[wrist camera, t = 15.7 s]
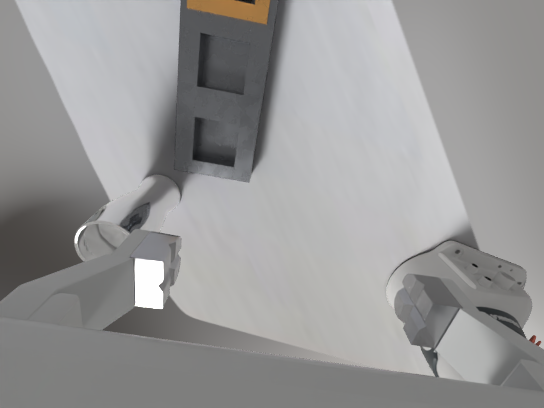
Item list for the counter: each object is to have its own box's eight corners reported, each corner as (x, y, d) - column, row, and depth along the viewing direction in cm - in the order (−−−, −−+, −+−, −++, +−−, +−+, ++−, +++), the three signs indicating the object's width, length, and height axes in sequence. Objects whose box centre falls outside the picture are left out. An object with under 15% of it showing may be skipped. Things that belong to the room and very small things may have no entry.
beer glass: (143, 163, 41) (76, 208, 27) (189, 182, 42) (147, 234, 29) (132, 204, 44) (67, 263, 30) (176, 220, 45) (132, 284, 31)
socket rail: (194, -85, 30) (183, -106, 26) (288, -64, 30) (290, -82, 27) (182, 162, 41) (173, 170, 37) (251, 174, 41) (249, 183, 38)
